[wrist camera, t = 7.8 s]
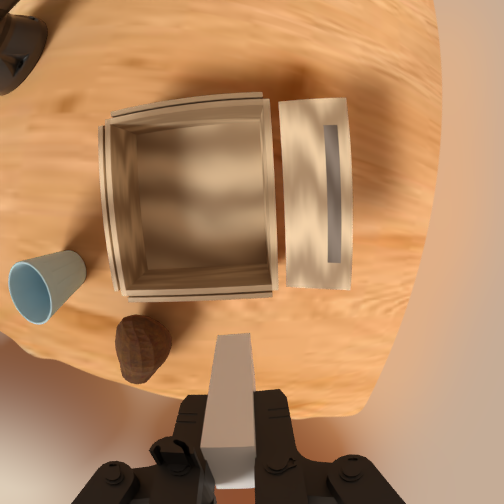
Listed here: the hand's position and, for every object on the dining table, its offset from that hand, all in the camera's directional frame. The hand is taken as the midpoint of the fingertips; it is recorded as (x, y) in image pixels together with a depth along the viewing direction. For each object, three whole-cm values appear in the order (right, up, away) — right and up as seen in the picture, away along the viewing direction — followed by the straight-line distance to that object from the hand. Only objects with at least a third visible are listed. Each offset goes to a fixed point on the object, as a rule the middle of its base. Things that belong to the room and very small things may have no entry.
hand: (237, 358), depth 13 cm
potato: (-13, -6, +24) cm, 29 cm away
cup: (-25, +3, +22) cm, 33 cm away
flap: (+3, +10, +12) cm, 16 cm away
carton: (-5, +12, +20) cm, 24 cm away
